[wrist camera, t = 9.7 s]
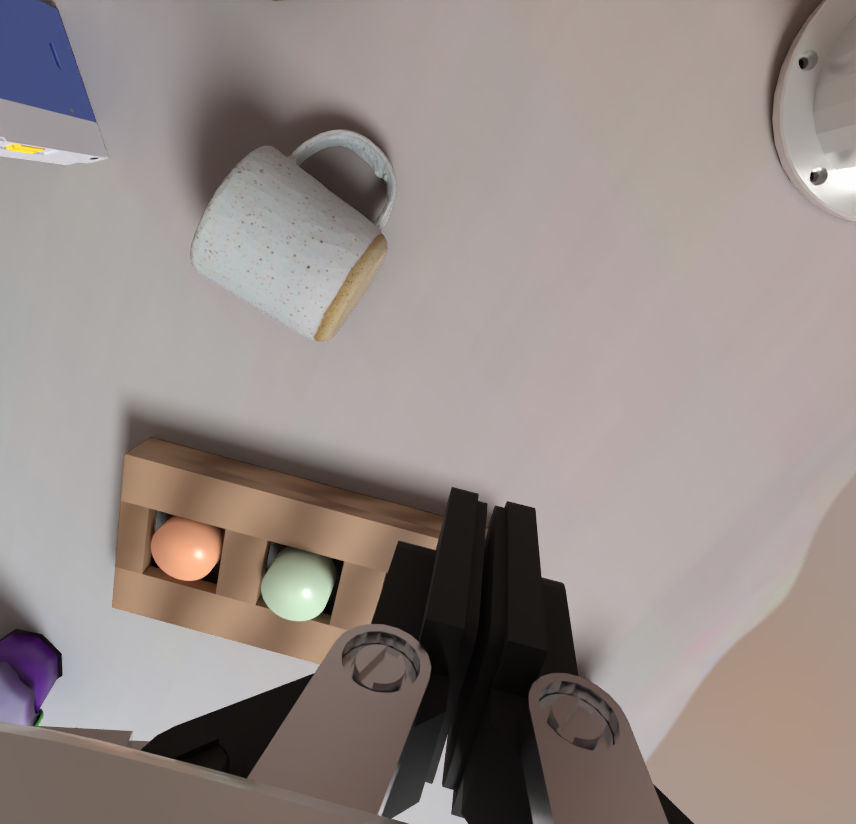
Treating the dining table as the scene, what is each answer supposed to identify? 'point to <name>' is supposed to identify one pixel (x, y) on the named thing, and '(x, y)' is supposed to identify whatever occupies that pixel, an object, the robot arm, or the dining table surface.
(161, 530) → the terracotta button
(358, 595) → the button deck
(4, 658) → the potion bottle
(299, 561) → the sage button
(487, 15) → the dining table surface
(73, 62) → the walkman
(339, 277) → the ceramic mug
